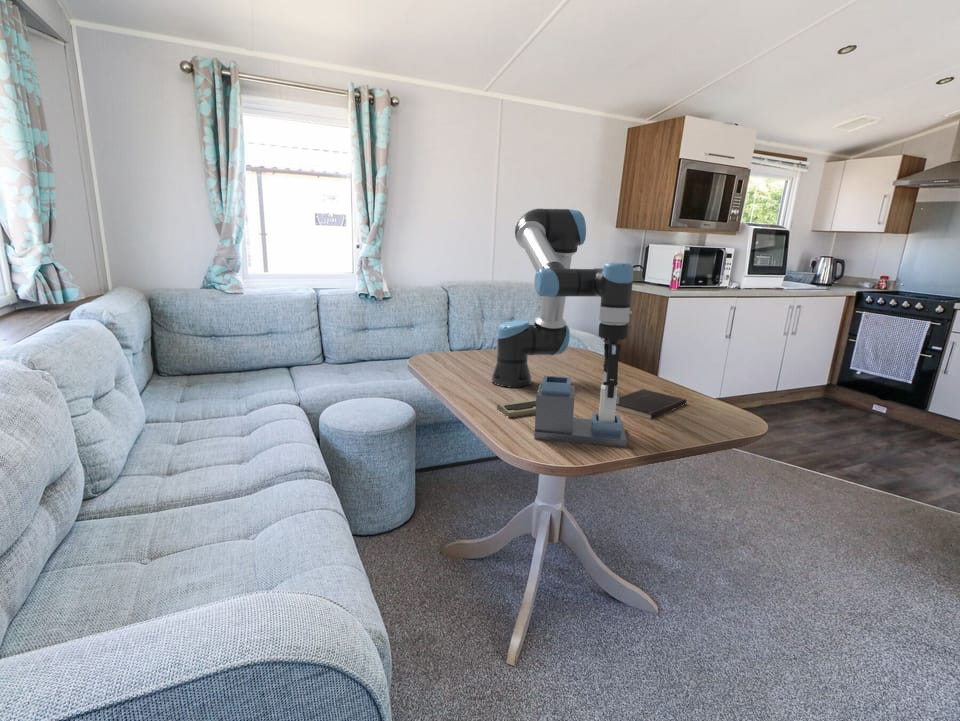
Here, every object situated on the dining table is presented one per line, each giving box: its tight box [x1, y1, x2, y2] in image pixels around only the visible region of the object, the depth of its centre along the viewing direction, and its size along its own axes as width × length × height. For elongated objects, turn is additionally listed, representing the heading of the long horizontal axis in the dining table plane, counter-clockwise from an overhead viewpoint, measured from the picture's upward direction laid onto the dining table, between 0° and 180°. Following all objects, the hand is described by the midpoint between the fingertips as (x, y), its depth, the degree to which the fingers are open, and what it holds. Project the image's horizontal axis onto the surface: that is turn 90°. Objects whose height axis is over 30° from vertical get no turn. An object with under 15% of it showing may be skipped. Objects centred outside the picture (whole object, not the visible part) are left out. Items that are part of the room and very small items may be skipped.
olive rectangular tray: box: [496, 397, 536, 418], centre depth 153 cm, size 16×8×3 cm, turn 116°
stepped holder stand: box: [533, 375, 628, 448], centre depth 134 cm, size 24×14×15 cm, turn 78°
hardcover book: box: [616, 388, 687, 420], centre depth 161 cm, size 16×23×2 cm
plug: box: [598, 384, 620, 422], centre depth 132 cm, size 5×4×12 cm
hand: (607, 401), depth 132 cm, fingers open, 12 cm apart
